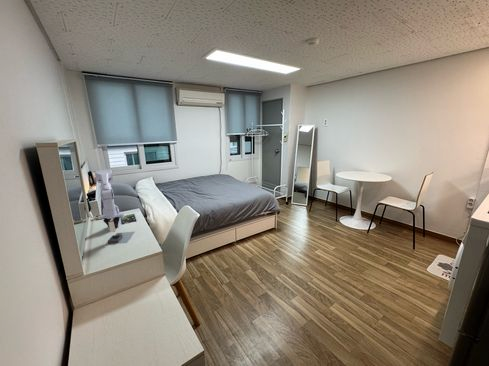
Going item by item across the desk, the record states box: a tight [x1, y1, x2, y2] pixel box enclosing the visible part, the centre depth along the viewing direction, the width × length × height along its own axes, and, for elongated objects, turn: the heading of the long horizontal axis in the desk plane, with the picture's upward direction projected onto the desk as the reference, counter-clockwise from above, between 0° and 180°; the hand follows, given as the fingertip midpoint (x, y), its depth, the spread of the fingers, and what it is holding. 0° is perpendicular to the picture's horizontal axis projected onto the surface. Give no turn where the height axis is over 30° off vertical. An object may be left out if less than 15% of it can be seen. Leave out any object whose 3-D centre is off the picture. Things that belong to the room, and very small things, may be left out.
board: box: [106, 231, 136, 245], centre depth 140 cm, size 15×12×2 cm
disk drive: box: [120, 213, 137, 225], centre depth 168 cm, size 10×3×15 cm
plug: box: [108, 219, 119, 233], centre depth 134 cm, size 4×3×7 cm
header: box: [107, 234, 123, 245], centre depth 137 cm, size 7×6×2 cm
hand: (113, 228), depth 135 cm, fingers closed on plug, 3 cm apart
